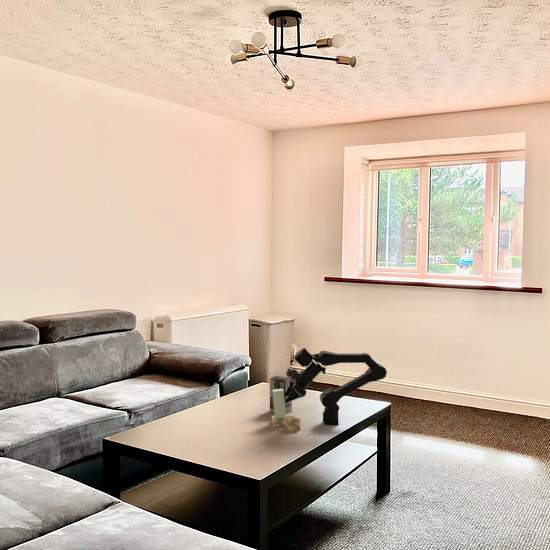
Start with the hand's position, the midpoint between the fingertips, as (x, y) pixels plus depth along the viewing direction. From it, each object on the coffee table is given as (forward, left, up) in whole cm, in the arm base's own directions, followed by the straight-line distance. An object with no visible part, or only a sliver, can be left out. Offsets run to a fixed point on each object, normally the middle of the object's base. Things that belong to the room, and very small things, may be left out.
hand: (284, 399), depth 263 cm
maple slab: (+2, 0, -11) cm, 12 cm away
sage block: (+2, 0, -8) cm, 8 cm away
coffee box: (+4, -19, -11) cm, 23 cm away
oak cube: (-4, +7, -11) cm, 14 cm away
